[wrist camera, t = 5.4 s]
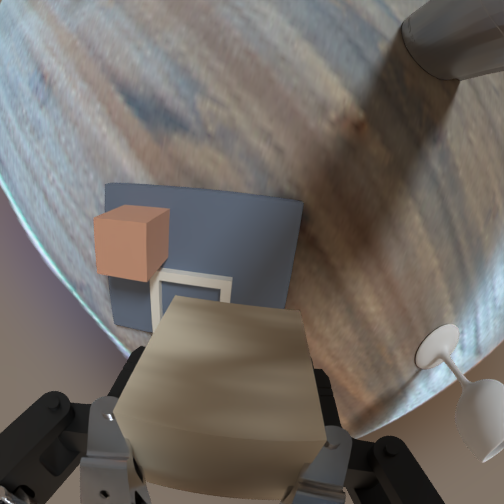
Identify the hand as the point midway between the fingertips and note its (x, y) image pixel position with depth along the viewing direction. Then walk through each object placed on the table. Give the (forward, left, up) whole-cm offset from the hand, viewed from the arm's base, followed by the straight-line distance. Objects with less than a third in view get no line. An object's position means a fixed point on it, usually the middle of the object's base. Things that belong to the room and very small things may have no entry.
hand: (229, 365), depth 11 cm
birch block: (0, 0, -1) cm, 1 cm away
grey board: (+5, +4, -18) cm, 19 cm away
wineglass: (-31, +13, -18) cm, 38 cm away
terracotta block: (+10, 0, -17) cm, 20 cm away
